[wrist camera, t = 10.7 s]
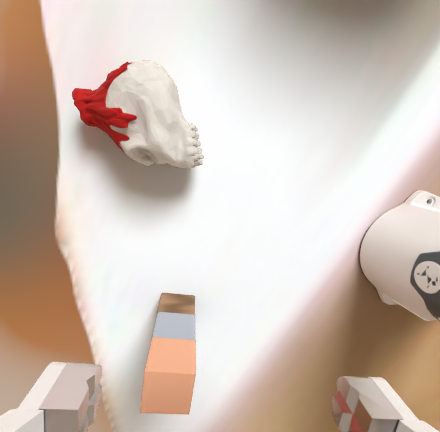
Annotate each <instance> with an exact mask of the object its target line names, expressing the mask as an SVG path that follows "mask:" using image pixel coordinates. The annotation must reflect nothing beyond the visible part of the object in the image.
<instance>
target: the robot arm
mask: <svg viewBox="0 0 440 432" xmlns="http://www.w3.org/2000/svg"><path fill="white" fill-rule="evenodd" d="M427 200H428V202H427ZM360 263H361V267H362V270H363V273H364V275H365V276H366V278H367V279H368V280H369V281H370V282H371V283H372V284H373V285H374V286H375V287H376V288H377V291H378V294H379V297H380V299H381V300H382V301H383V302H384V303H386V304H388V305H396V304H399V305H401V306H402V307H404V308H406V309H407V310H409V311H410V312H412V313H414V314H415V315H417V316H418V317H420V318H422V319H423V320H426V321H431V320H432V321H438V320H439V321H440V197H439V196H436V195H434V194H431V193H429V192H426V191H422V190H419V191H416V192H415V193H413V194H412V195H411V196H410V197H409V198H408V199H407V200H406V201H405V202H404V203H403V204H401V205H399V206H398V207H395V208H393V209H391V210H389V211H387V212H386V213H384V214H383V215H382V216H380V217H379V218H378V219H377V220H376V221H375V222H374V223H373V224H372V225H371V227H370V228H369V230H368V231H367V233H366V235H365V237H364V239H363V242H362V245H361V250H360ZM101 376H102V366H101V365H96V364H82V363H62V362H51V363H50V364H49V365H48V366H47V367H46V368H45V370H44V371H43V373H42V374H41V375H40V377H39V378H38V380H37V381H36V383H35V384H34V385H33V387H32V388H31V390H30V391H29V392H28V394H27V396H26V397H25V398H24V400H23V401H22V402H21V404H20V405H19V407H18V408H17V409H11V410H9V411H7V412H6V413H4V414H3V415H1V416H0V432H88V426H89V425H90V424H91V423H93V422H94V419H95V416H96V414H97V411H98V407H99V403H100V398H101V388H102V386H101V385H100V384H99V381H100V378H101ZM336 386H337V388H338V390H339V391H338V392H336V393H335V394H334V395H333V399H332V403H331V404H332V414H333V417H334V420H335V422H336V424H337V426H338V428H339V429H340V430H341V431H342V432H439V431H437V430H436V429H434V428H433V427H432V426H430V425H429V424H427V423H426V422H424V421H419V420H418V419H417V418H416V416H415V415H414V414H413V413H412V412H411V410H410V409H409V408H408V407H407V406H406V404H405V403H404V402H403V401H402V399H401V398H400V397H399V396H398V395H397V393H396V392H395V391H394V390H393V388H392V387H391V386H390V385H389V384H388V382H387V381H386V380H385V379H383V378H382V377H355V376H340V377H339V378H338V381H337V384H336Z"/></svg>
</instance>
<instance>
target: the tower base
mask: <svg viewBox="0 0 440 432" xmlns="http://www.w3.org/2000/svg"><path fill="white" fill-rule="evenodd" d="M158 312H168V313H179V314H191V315H195V296H193V295H182V294H171V293H162V295H161V299H160V303H159V307H158ZM158 312H157V314H158Z"/></svg>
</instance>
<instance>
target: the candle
mask: <svg viewBox="0 0 440 432" xmlns="http://www.w3.org/2000/svg"><path fill="white" fill-rule="evenodd" d="M72 97H73V99H74V105H75V106H76V107H77V108H78V110H79V111H80V117H81V120H82V121H83V122H84V123H85V124H86V125H88V126H96V127H98V128H100V129H102V130H103V131H105V132H106V133H108V134H109V136H110V137H111V138H112V139H113V140H114V142H115V143H116V144H117V145H118V146H119V147H120V148H121V149H122V151H123V152H124V153H125V154H126V155H127V156H128V157H130V158H131V159H133V160H135V161H137V162H139V163H141V164H143V165H145V166H148V165H152V164H154V163H156V164H157V165H161V164H165V163H168V164H169V165H170V166H174V167H178V168H189V169H190V168H194V167H195V166H199V165H202V160H200V159H202V158H204V156H203V155H199V154H201V153H202V149H201V148H197V147H198V146H200V145H201V144H200V141H199V140H196V139H199V135H198V133H195V132H196V131H197V128H196V126H194V125H193V124H192V123H188V122H187V121H186V120H185V118H184V116H183V113H182V110H181V106H180V102H179V96H178V90H177V87H176V85H175V83H174V81H173V80H172V78H171V77H170V76H169V74H168V73H167V72H166V71H165V70H164V69H163V68H162V67H161V66H160V65H158V64H157V63H155V62H152V61H145V60H143V61H138V62H134V63H128V62H126V63H125V64H123V65H122V66H120V68H118V69H116V70H114V71H112V72H111V73H109V74H108V76H107V79H106V81H105V82H104V83H103V84H102V85H101V86H100V87H99V88H98V89H97V90H94V91H92V90H91V89H79V88H75V89H74V91H73V92H72Z"/></svg>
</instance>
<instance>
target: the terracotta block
mask: <svg viewBox="0 0 440 432" xmlns="http://www.w3.org/2000/svg"><path fill="white" fill-rule="evenodd" d="M195 376H196V340H187V339H173V338H160V337H152V342H151V346H150V350H149V355H148V359H147V363H146V368H145V373H144V382H143V391H142V400H141V409H140V413H164V414H189V412H190V406H191V400H192V394H193V388H194V382H195Z"/></svg>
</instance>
